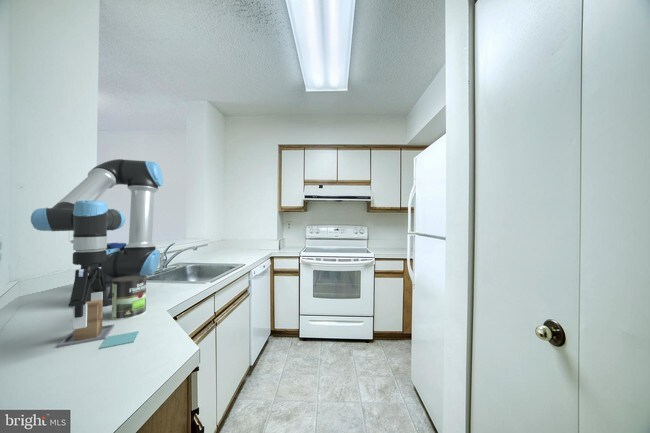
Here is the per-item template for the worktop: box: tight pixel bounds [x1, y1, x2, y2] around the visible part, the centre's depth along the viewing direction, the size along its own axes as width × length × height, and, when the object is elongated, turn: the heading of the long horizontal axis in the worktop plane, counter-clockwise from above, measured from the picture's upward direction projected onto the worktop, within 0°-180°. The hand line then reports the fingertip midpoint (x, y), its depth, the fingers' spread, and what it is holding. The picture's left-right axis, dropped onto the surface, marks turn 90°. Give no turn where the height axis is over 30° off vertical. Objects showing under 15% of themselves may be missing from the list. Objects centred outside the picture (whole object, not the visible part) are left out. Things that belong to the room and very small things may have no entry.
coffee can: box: [111, 275, 148, 321], centre depth 92 cm, size 10×10×14 cm
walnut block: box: [73, 300, 104, 341], centre depth 74 cm, size 5×5×10 cm
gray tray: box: [57, 323, 115, 349], centre depth 74 cm, size 10×10×1 cm
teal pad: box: [99, 330, 140, 350], centre depth 72 cm, size 8×8×1 cm
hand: (88, 319), depth 74 cm, fingers open, 13 cm apart
